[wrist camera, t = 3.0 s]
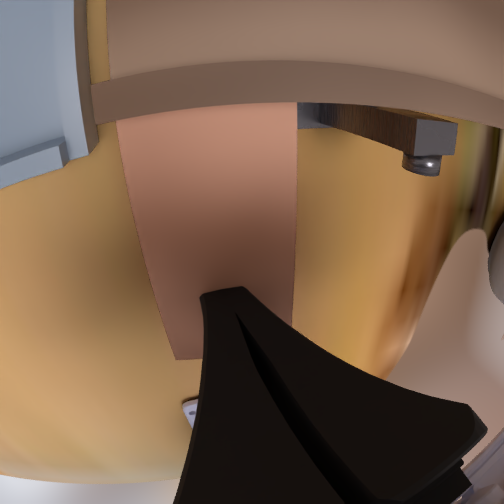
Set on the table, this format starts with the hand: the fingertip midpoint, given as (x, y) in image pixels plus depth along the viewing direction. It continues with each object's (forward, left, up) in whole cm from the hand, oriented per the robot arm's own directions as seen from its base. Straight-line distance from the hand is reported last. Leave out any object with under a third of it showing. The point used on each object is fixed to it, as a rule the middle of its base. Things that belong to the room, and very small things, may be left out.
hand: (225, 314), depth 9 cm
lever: (+5, -8, +1) cm, 10 cm away
